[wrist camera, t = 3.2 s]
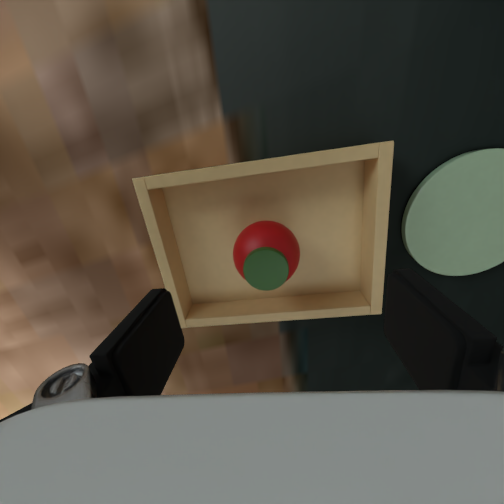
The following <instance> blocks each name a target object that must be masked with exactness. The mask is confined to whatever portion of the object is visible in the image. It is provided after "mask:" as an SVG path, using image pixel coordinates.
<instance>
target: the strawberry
mask: <svg viewBox="0 0 504 504" xmlns="http://www.w3.org/2000/svg"><path fill="white" fill-rule="evenodd" d="M233 260H234V264H235V267H236V269H237V271H238V273H239V274H240V275H241V276H242V277H243V278H244V279H245V280H246V281H247V282H248V283H249V284H250V285H251V286H252V287H254V288H256V289H259V290H263V291H269V290H274V289H277V288H278V287H280V286H281V285H283V284H284V282H286V281H287V280H288V279H289V278H291V276H292V275H293V274H294V272H295V271H296V269H297V267H298V264H299V260H300V248H299V244H298V241H297V239H296V237H295V236H294V234H293V233H292V232H291V230H289V229H288V228H287V227H286V226H284V225H282V224H280V223H278V222H275V221H269V220H264V221H258V222H255V223H253V224H250V225H249V226H247V227H246V228H245V229H243V230H242V232H241V233H240V234H239V236H238V237H237V239H236V241H235V244H234V248H233Z"/></svg>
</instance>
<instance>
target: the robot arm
mask: <svg viewBox="0 0 504 504" xmlns="http://www.w3.org/2000/svg"><path fill="white" fill-rule="evenodd" d="M384 332H385V336H386V338H387V339H388V341H389V342H390V344H391V346H392V347H393V349H394V350H395V352H396V353H397V355H398V357H399V358H400V360H401V361H402V363H403V364H404V366H405V368H406V369H407V371H408V372H409V374H410V376H411V377H412V379H413V380H414V382H415V383H416V385H417V387H418V388H419V390H387V391H322V392H270V393H225V394H188V395H161V393H162V391H163V389H164V387H165V385H166V382H167V380H168V378H169V376H170V374H171V372H172V370H173V368H174V366H175V364H176V362H177V359H178V357H179V355H180V353H181V351H182V349H183V347H184V336H183V333H182V329H181V326H180V322H179V319H178V316H177V312H176V309H175V305H174V302H173V299H172V295H171V293H170V292H169V291H167V290H166V289H165V288H163V289H152V290H151V291H150V292H149V293H148V294H147V295H146V296H145V297H144V298H143V299H142V300H141V301H140V302H139V303H138V304H137V305H136V307H135V308H134V309H133V310H132V311H131V312H130V313H129V314H128V315H127V316H126V317H125V318H124V319H123V320H122V322H121V323H120V324H119V325H118V326H117V327H116V328H115V329H114V330H113V331H112V332H111V333H110V334H109V335H108V337H107V338H106V339H105V340H104V341H103V342H102V343H101V344H100V345H99V346H98V347H97V348H96V349H95V350H94V352H93V353H92V354H91V355H90V358H91V360H92V363H91V364H90V365H89V366H88V365H86V364H83V363H78V364H73V365H70V366H67V367H65V368H63V369H61V370H59V371H57V372H55V373H54V374H52V375H51V376H50V377H48V378H47V379H46V380H45V381H44V382H43V383H42V384H41V385H40V386H39V387H38V388H37V390H36V392H35V394H34V398H33V403H31V404H30V405H28V406H26V407H24V408H22V409H20V410H18V411H16V412H15V413H13V414H11V415H9V416H7V417H5V418H3V419H1V420H0V504H504V348H503V347H502V346H501V345H500V344H499V343H497V342H496V340H497V337H496V336H495V335H493V334H492V333H491V332H490V331H488V330H487V329H486V328H485V327H483V326H482V325H481V324H479V323H478V322H477V321H476V320H474V319H473V318H472V317H471V316H469V315H468V314H467V313H466V312H464V311H463V310H462V309H461V308H459V307H458V306H457V305H456V304H454V303H453V302H452V301H451V300H449V299H448V298H447V297H446V296H444V295H443V294H442V293H441V292H439V291H438V290H437V289H436V288H434V287H433V286H432V285H431V284H429V283H428V282H427V281H426V280H424V279H423V278H422V277H421V276H419V275H418V274H417V273H416V272H414V271H413V270H412V269H410V268H409V269H397V270H393V272H392V273H391V274H388V278H387V292H386V305H385V319H384Z"/></svg>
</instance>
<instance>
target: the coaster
mask: <svg viewBox="0 0 504 504" xmlns="http://www.w3.org/2000/svg"><path fill="white" fill-rule="evenodd" d="M401 232H402V239H403V243H404V246H405V248H406V250H407V252H408V253H409V255H410V256H411V257H412V258H413V259H414V260H415V261H416V262H417V263H418V264H420V265H421V266H423V267H424V268H426V269H428V270H429V271H432V272H435V273H437V274H442V275H449V276H463V275H470V274H475V273H479V272H482V271H485V270H488V269H490V268H492V267H494V266H496V265H498V264H500V263H502V262H504V149H502V148H490V149H480V150H475V151H470V152H467V153H464V154H461V155H459V156H457V157H454V158H452V159H450V160H449V161H447V162H445V163H443V164H442V165H440V166H439V167H438V168H436V169H435V170H433V171H432V172H431V173H430V174H429V175H428V176H427V177H426V178H425V179H424V180H423V181H422V182H421V183H420V184H419V185H418V187H417V188H416V189H415V191H414V192H413V194H412V196H411V197H410V199H409V201H408V203H407V205H406V208H405V211H404V214H403V218H402V228H401Z"/></svg>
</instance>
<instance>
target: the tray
mask: <svg viewBox="0 0 504 504" xmlns="http://www.w3.org/2000/svg"><path fill="white" fill-rule="evenodd" d="M393 150H394V141H387V142H379V143H371V144H365V145H358V146H351V147H344V148H337V149H330V150H323V151H317V152H310V153H303V154H296V155H289V156H282V157H275V158H269V159H262V160H255V161H248V162H241V163H234V164H227V165H220V166H214V167H207V168H200V169H193V170H186V171H179V172H172V173H166V174H159V175H152V176H146V177H139V178H133V179H132V181H133V184H134V187H135V191H136V194H137V197H138V201H139V204H140V207H141V210H142V214H143V217H144V220H145V223H146V227H147V230H148V233H149V236H150V240H151V243H152V246H153V250H154V253H155V256H156V259H157V263H158V266H159V269H160V272H161V276H162V279H163V282H164V285H165V289H166V290H167V291H169V292H170V293H171V295H172V299H173V302H174V305H175V309H176V312H177V316H178V319H179V322H180V326H181V328H187V327H203V326H217V325H231V324H245V323H259V322H273V321H287V320H301V319H316V318H330V317H344V316H358V315H370V314H371V315H374V314H382V301H383V287H384V273H385V260H386V246H387V232H388V219H389V205H390V191H391V177H392V164H393ZM264 220H269V221H275V222H278V223H280V224H282V225H284V226H286V227H287V228H288V229H289V230H291V232H292V233H293V234H294V236H295V237H296V239H297V241H298V244H299V248H300V260H299V264H298V267H297V269H296V271H295V272H294V274H293V275H292V276H291V278H289V279H288V280H287V281H286V282H284V284H283V285H281V286H280V287H278V288H277V289H274V290H269V291H263V290H259V289H256V288H254V287H252V286H251V285H250V284H249V283H248V282H247V281H246V280H245V279H244V278H243V277H242V276H241V275H240V274H239V273H238V271H237V269H236V267H235V264H234V260H233V248H234V244H235V241H236V239H237V237H238V236H239V234H240V233H241V232H242V230H243V229H245V228H246V227H247V226H249V225H250V224H253V223H255V222H258V221H264Z"/></svg>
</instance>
